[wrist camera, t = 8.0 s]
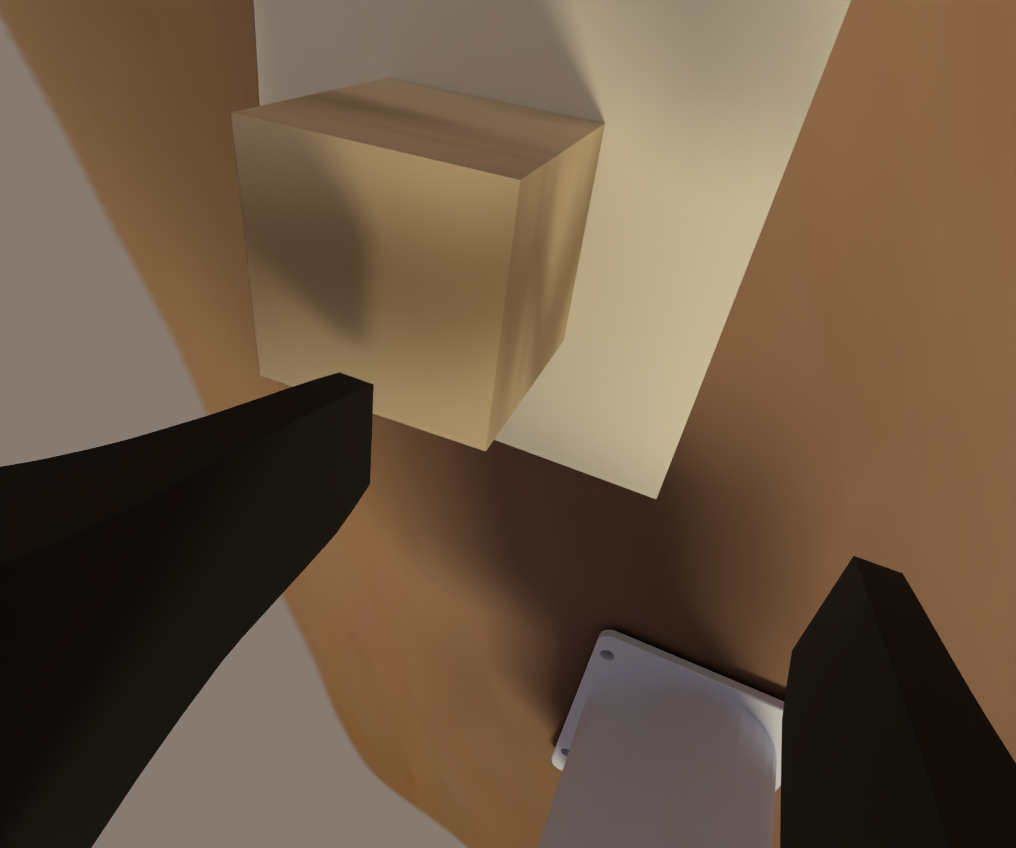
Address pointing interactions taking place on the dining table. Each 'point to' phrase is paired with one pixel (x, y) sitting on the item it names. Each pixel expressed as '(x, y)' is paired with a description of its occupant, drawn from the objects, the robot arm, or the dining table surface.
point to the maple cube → (414, 245)
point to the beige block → (606, 173)
